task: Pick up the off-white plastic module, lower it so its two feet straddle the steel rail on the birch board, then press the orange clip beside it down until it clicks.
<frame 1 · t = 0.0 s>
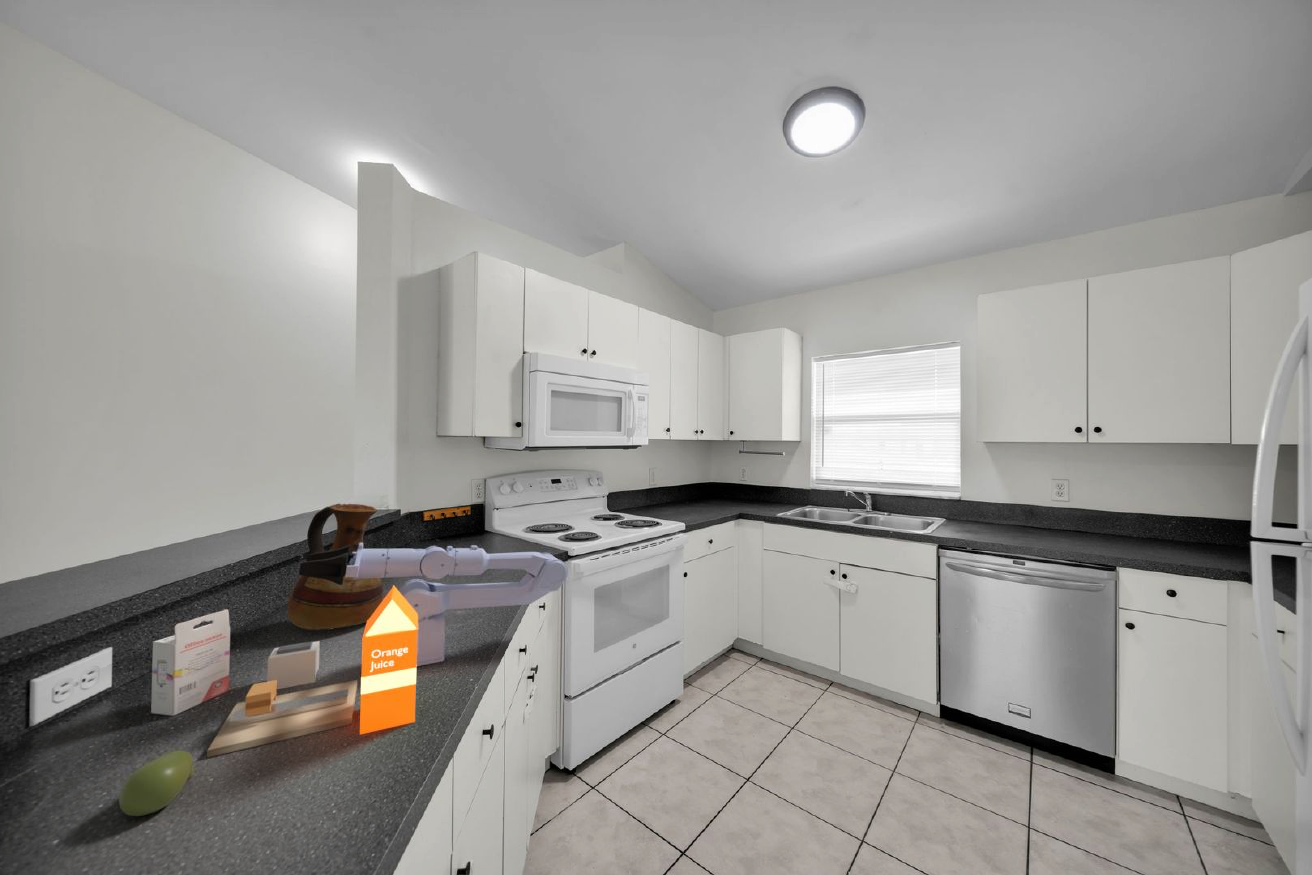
hand: (303, 564, 88), 22 cm above the worktop, tool horizontal, fingers open, 7 cm apart
module: (293, 680, 88), on the worktop
olive green oval piece: (161, 798, 58), on the worktop
steel rail: (292, 707, 76), on the mounting board, point 1 cm above the worktop
orange juice: (389, 715, 77), on the worktop
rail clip: (261, 697, 74), point 4 cm above the worktop, slide at 0.0 cm
ink cartridge box: (190, 703, 80), on the worktop
mounting board: (292, 716, 76), on the worktop
ceramic pitcher: (336, 624, 117), on the worktop
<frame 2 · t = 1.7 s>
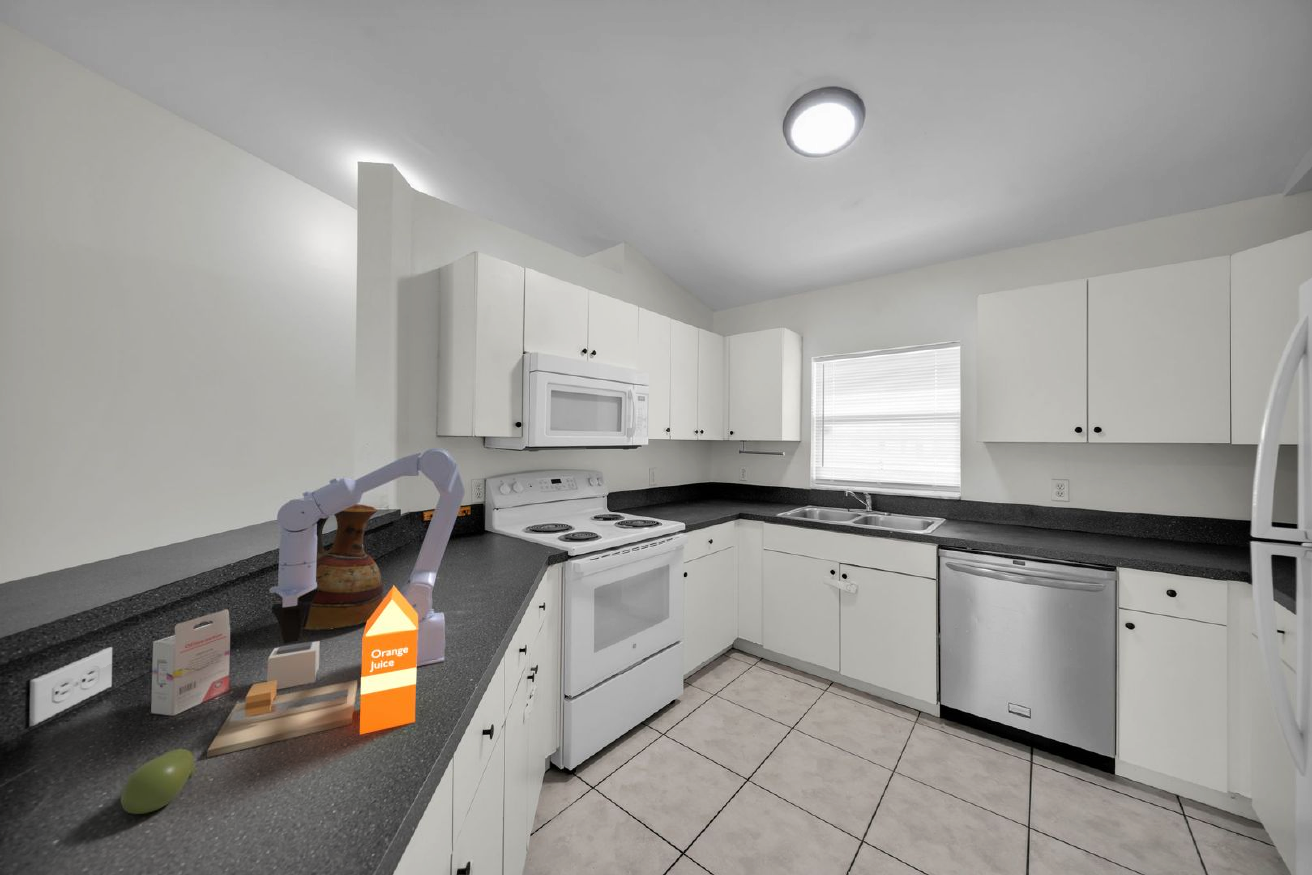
hand: (295, 634, 88), 8 cm above the worktop, tool pointing down, fingers open, 7 cm apart
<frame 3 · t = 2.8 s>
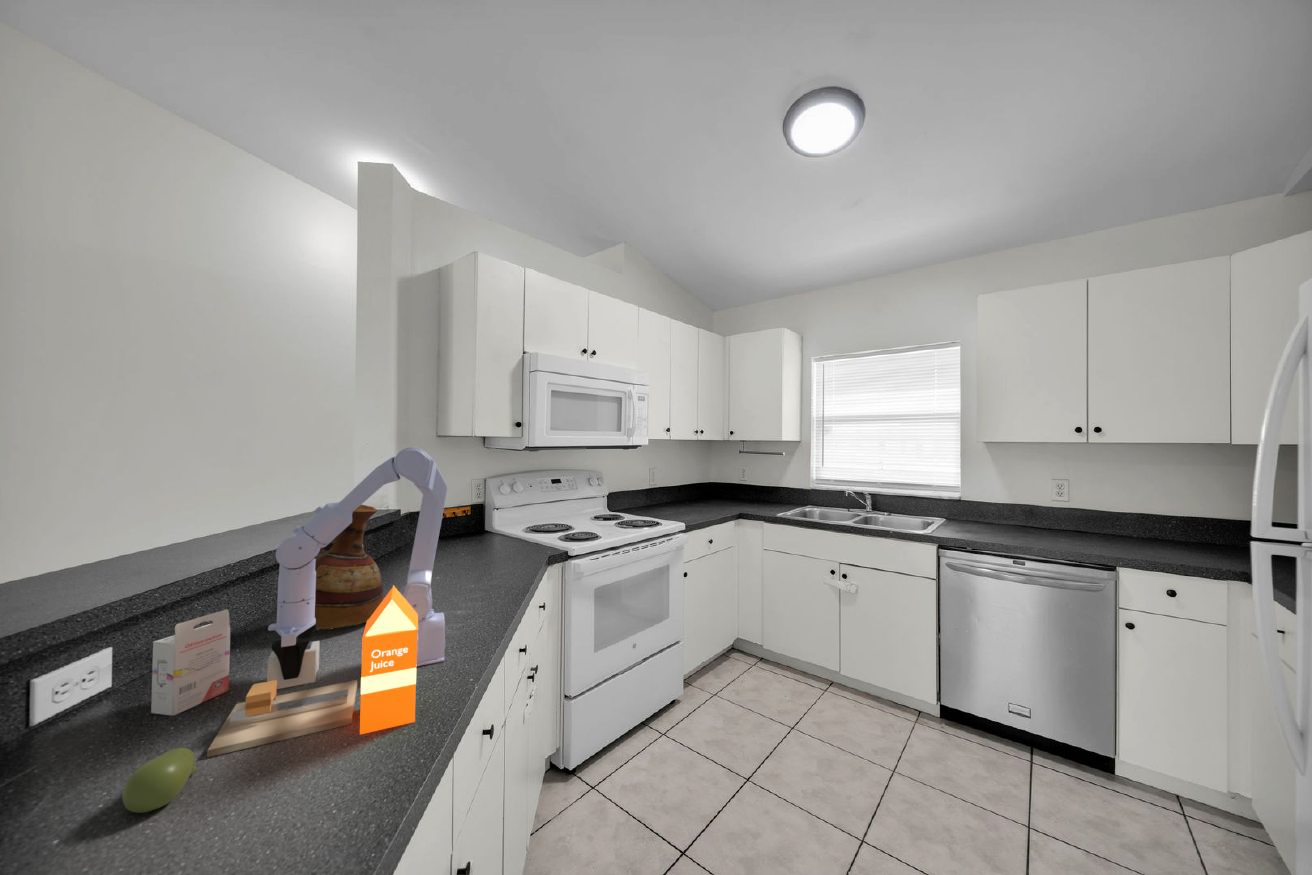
hand: (294, 671, 88), 2 cm above the worktop, tool pointing down, fingers closed on module, 5 cm apart
module: (293, 680, 88), on the worktop, touching gripper
everything else where it was.
when the fingers open (3 cm above the worktop, at t = 6.9 s): module stays where it is, resting on steel rail.
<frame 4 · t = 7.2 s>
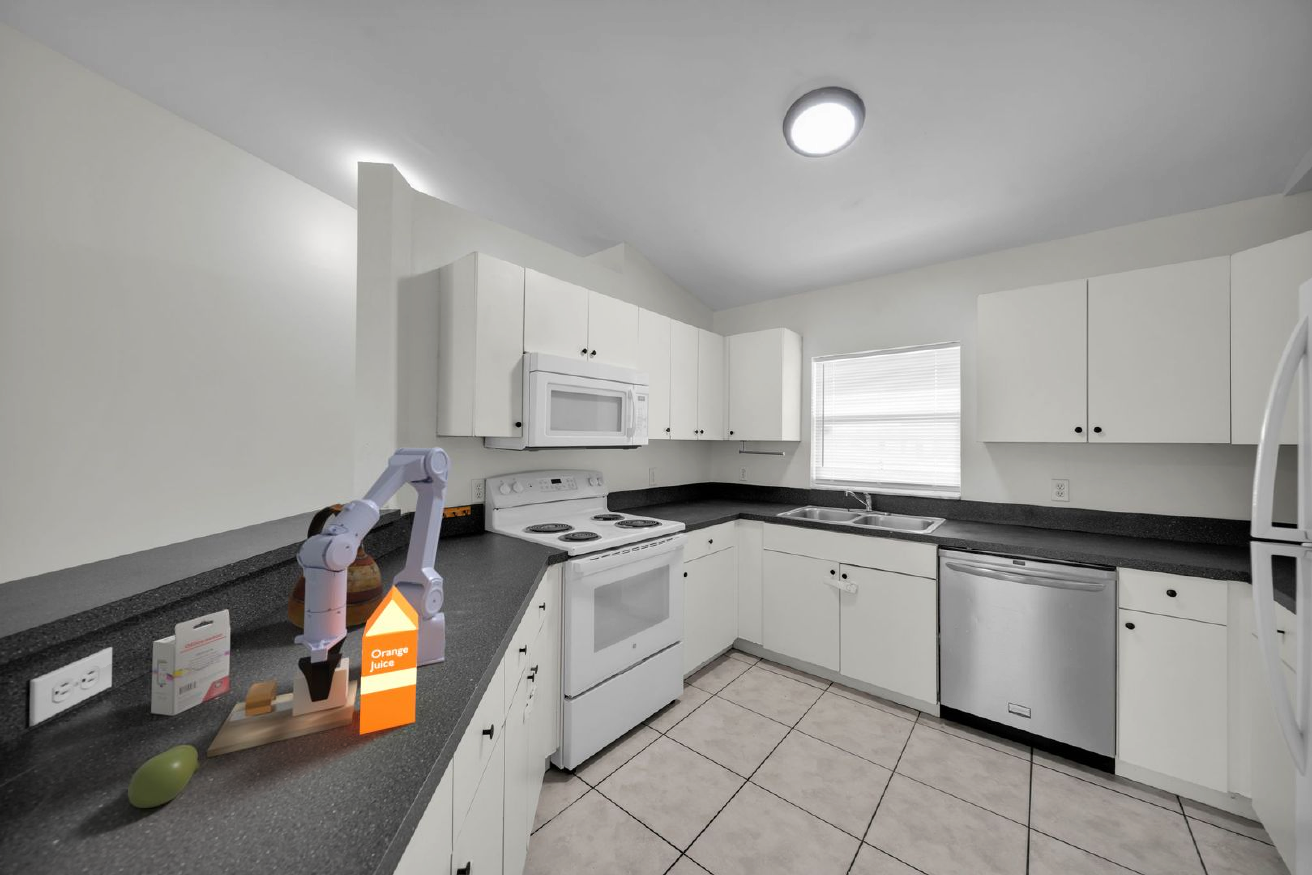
hand: (323, 689, 78), 3 cm above the worktop, tool pointing down, fingers open, 7 cm apart
module: (321, 703, 78), point 1 cm above the worktop, touching steel rail
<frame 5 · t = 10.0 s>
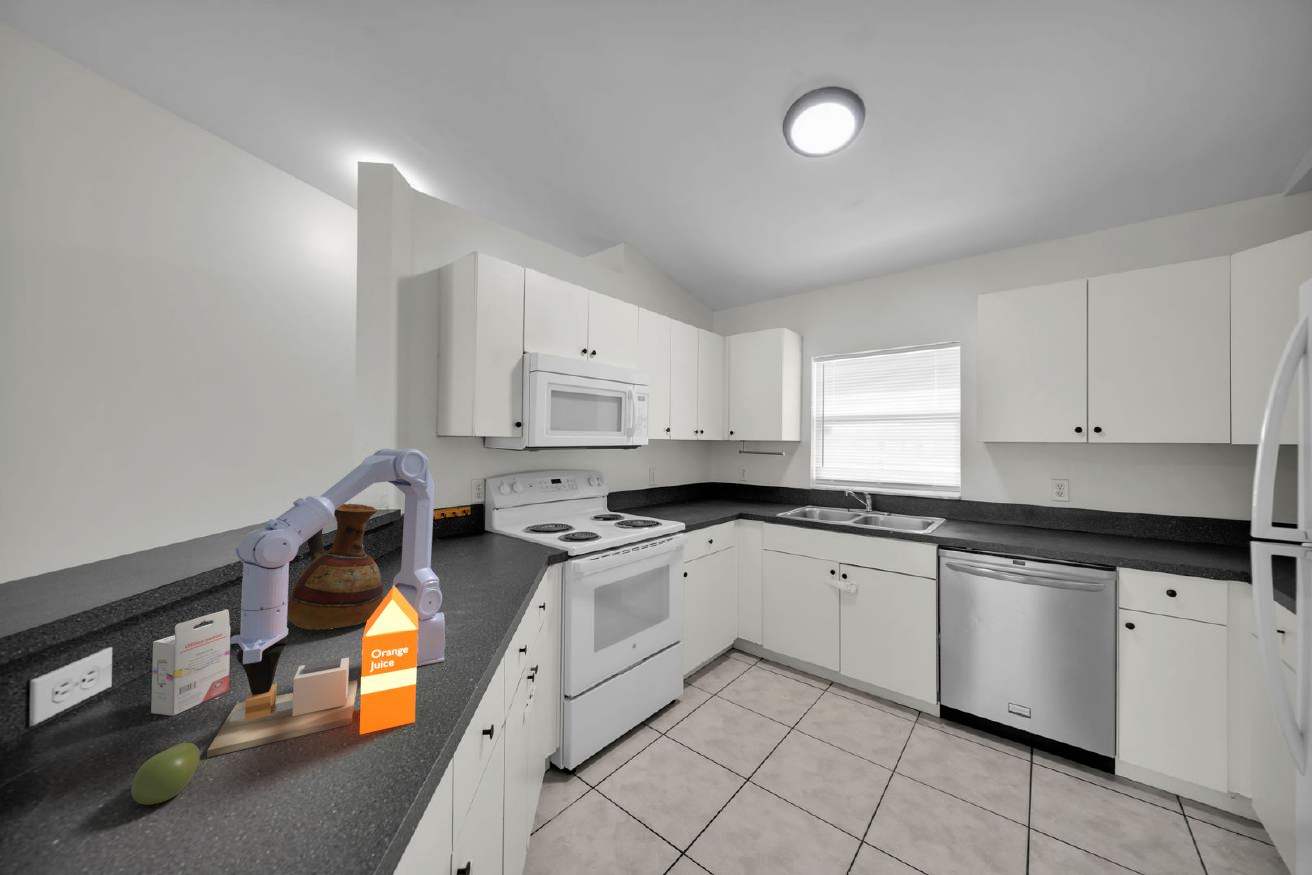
hand: (261, 691, 74), 5 cm above the worktop, tool pointing down, fingers closed, pressing on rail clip
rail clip: (261, 701, 74), point 3 cm above the worktop, slide at 0.6 cm, touching gripper
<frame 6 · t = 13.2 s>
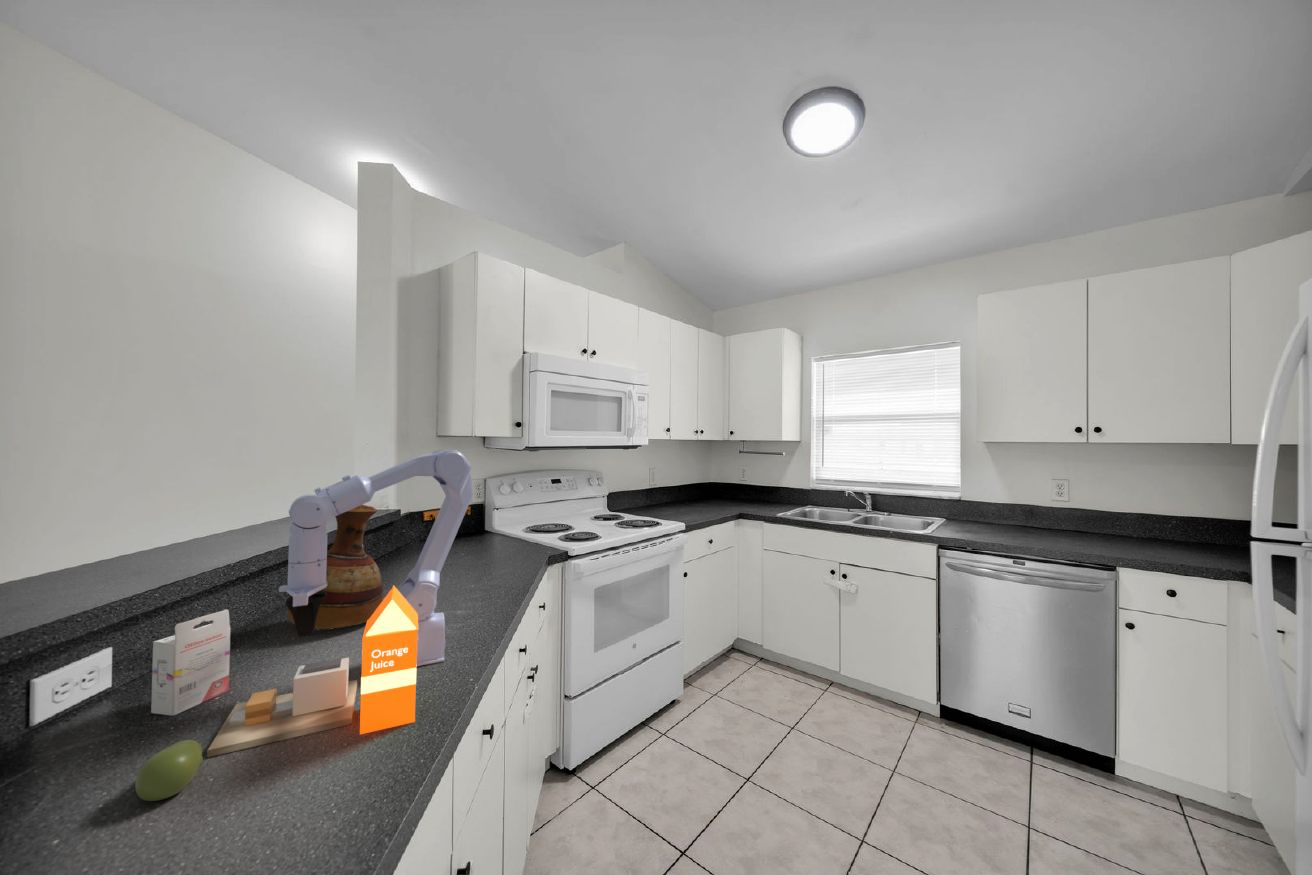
hand: (305, 634, 86), 9 cm above the worktop, tool pointing down, fingers closed
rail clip: (261, 706, 74), point 3 cm above the worktop, slide at 1.4 cm
at the end: module 0.1 cm from the target spot on the steel rail, point 1.2 cm above the steel rail's base; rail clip slide at 1.4 cm; module tilted 0° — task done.
